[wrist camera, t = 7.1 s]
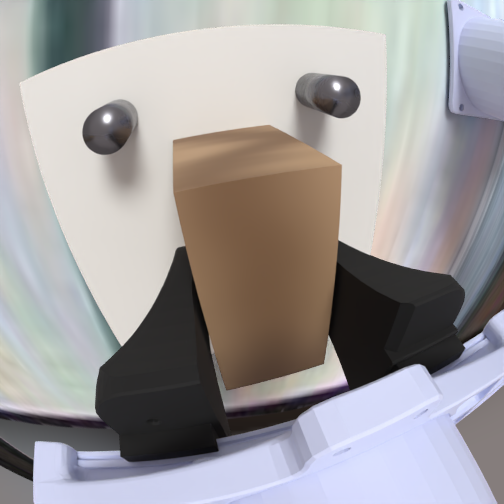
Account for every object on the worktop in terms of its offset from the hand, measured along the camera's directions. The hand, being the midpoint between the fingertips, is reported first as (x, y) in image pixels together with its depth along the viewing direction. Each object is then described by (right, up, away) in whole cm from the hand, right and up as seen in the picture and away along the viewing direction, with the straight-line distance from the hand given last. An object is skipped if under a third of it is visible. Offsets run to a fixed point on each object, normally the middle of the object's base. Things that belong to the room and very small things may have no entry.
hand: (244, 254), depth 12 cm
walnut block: (-1, +2, +1) cm, 2 cm away
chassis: (-1, +2, +3) cm, 3 cm away
